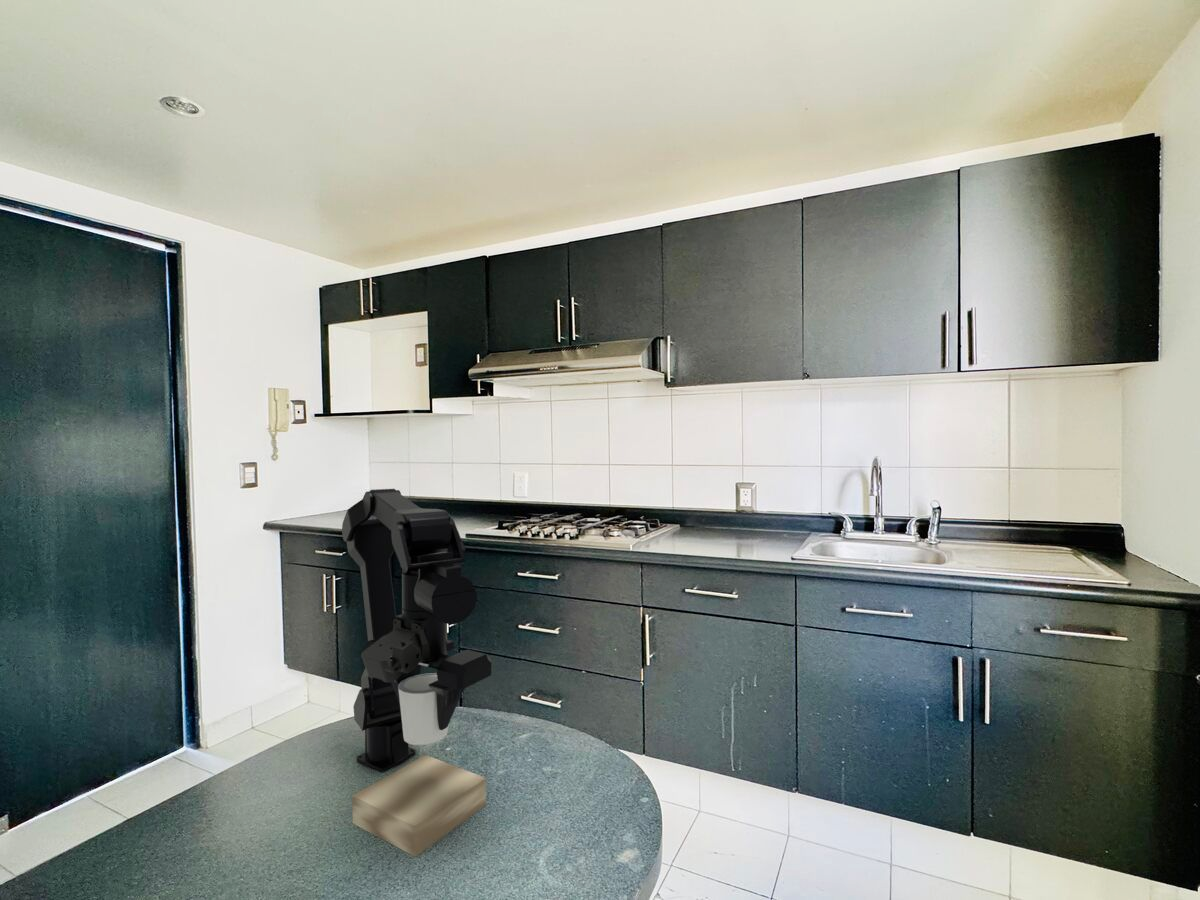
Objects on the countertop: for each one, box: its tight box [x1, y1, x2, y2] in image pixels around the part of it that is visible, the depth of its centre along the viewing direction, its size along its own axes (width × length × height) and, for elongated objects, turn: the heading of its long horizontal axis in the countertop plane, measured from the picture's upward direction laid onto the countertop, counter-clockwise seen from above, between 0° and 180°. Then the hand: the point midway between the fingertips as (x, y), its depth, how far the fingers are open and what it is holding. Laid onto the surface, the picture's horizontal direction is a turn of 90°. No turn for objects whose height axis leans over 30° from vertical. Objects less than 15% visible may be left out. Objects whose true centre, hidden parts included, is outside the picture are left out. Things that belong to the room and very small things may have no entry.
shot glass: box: [398, 672, 449, 746], centre depth 78 cm, size 7×7×7 cm
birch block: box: [351, 754, 487, 857], centre depth 78 cm, size 12×12×4 cm
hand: (425, 723), depth 78 cm, fingers closed on shot glass, 6 cm apart
